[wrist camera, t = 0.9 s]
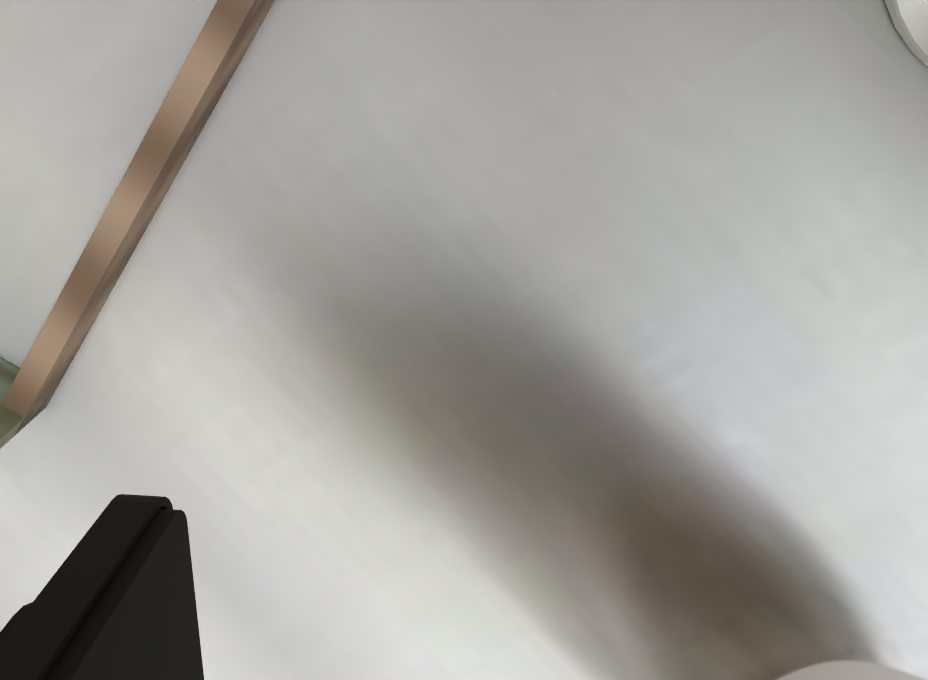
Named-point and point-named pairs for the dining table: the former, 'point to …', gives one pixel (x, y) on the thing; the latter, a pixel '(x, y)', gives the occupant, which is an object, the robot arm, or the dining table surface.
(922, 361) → the dining table surface
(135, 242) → the track
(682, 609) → the dining table surface
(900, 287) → the dining table surface
